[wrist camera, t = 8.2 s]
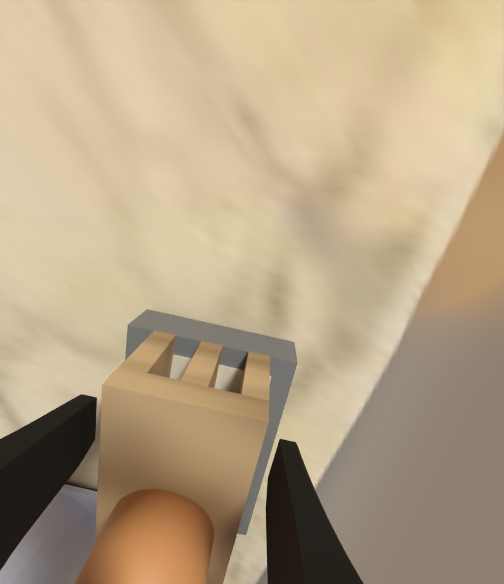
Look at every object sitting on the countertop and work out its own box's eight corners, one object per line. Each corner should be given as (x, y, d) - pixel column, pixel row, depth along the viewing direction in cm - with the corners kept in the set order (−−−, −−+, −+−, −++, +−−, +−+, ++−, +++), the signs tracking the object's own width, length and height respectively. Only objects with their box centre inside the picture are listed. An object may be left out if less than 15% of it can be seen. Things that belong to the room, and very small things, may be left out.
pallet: (230, 507, 15) (216, 605, 12) (137, 486, 15) (93, 577, 12) (270, 356, 12) (268, 422, 9) (154, 330, 12) (102, 384, 9)
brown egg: (204, 572, 11) (181, 699, 8) (108, 549, 11) (51, 668, 8) (223, 503, 10) (204, 625, 7) (116, 477, 10) (51, 588, 7)
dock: (248, 500, 18) (245, 537, 16) (131, 473, 18) (113, 506, 16) (294, 342, 14) (297, 363, 12) (147, 309, 14) (126, 325, 12)
